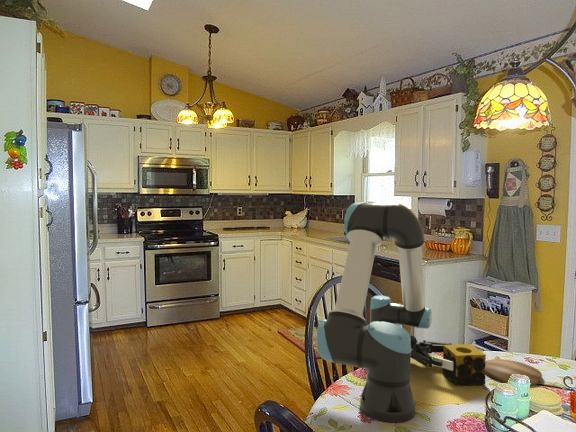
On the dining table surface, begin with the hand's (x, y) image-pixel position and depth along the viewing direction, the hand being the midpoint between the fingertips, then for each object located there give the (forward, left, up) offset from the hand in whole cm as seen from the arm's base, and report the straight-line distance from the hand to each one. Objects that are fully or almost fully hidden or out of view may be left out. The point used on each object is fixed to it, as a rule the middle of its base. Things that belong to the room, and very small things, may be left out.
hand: (461, 360), depth 140 cm
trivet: (+16, -11, -6) cm, 20 cm away
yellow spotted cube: (0, -1, -6) cm, 6 cm away
